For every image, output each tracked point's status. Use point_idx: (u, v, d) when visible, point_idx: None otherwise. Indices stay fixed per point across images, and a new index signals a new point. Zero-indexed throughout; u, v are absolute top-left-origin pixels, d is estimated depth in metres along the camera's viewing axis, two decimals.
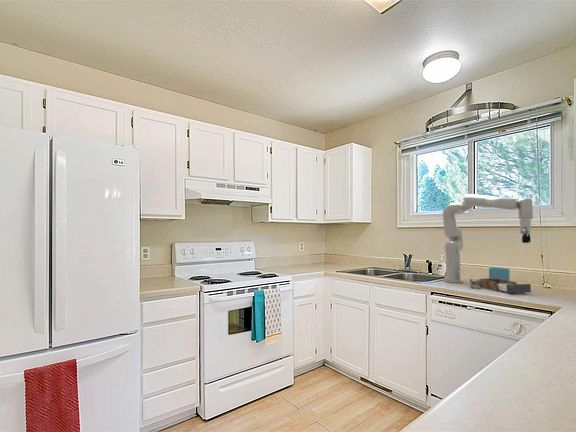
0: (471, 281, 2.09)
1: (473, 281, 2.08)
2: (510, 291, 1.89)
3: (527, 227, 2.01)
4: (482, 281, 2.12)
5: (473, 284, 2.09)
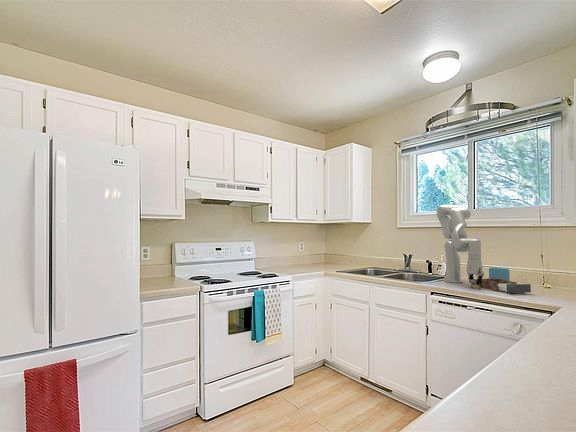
0: (472, 281, 2.09)
1: (473, 281, 2.08)
2: (510, 291, 1.89)
3: (481, 268, 2.06)
4: (482, 281, 2.12)
5: (473, 284, 2.09)
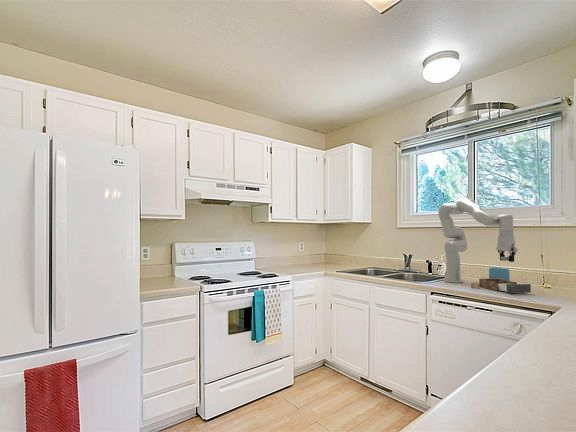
0: (503, 258, 1.98)
1: (505, 258, 1.98)
2: (510, 291, 1.89)
3: (514, 244, 1.96)
4: (482, 281, 2.12)
5: (473, 284, 2.09)
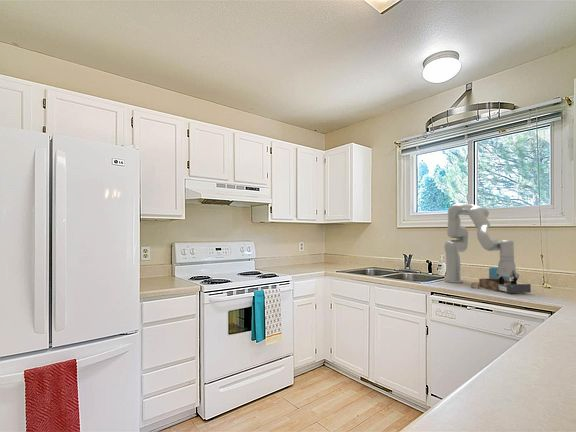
0: None
1: None
2: (510, 291, 1.89)
3: (515, 271, 1.95)
4: (482, 281, 2.12)
5: (473, 284, 2.09)
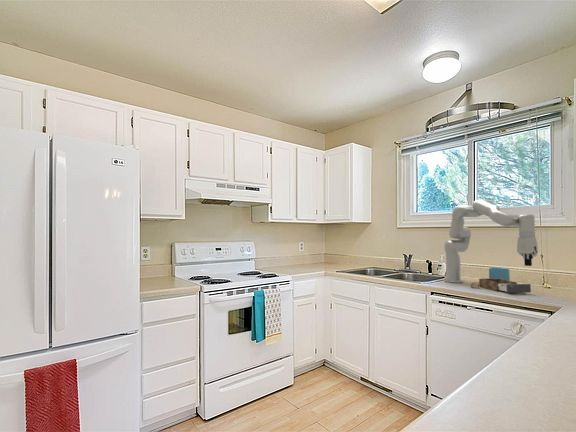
0: None
1: None
2: (510, 291, 1.89)
3: (536, 247, 1.80)
4: (482, 281, 2.12)
5: (473, 284, 2.09)
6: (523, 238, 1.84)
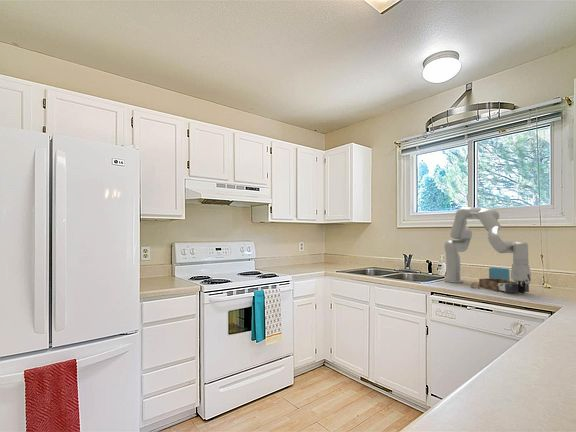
0: None
1: None
2: (508, 291, 1.91)
3: (530, 275, 1.84)
4: (482, 281, 2.12)
5: (473, 284, 2.09)
6: (517, 265, 1.89)
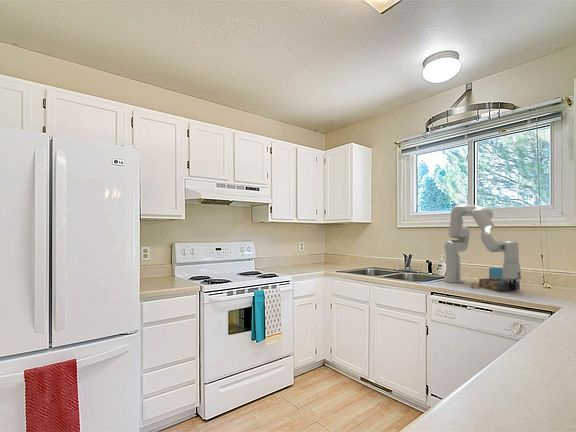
0: None
1: None
2: (500, 288, 1.97)
3: (520, 273, 1.91)
4: (482, 281, 2.12)
5: (473, 284, 2.09)
6: (508, 264, 1.96)
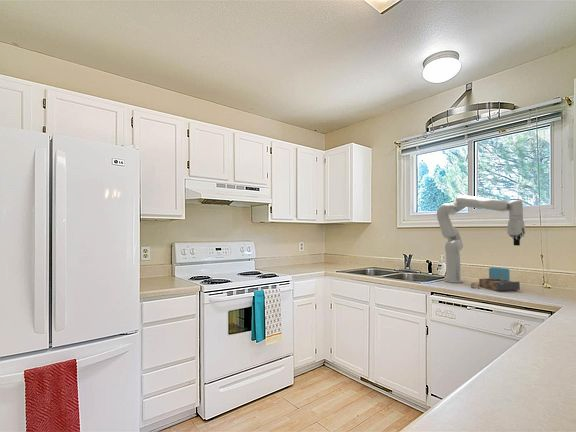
0: None
1: None
2: (500, 288, 1.97)
3: (524, 228, 2.05)
4: (482, 281, 2.12)
5: (473, 284, 2.09)
6: (512, 221, 2.09)
